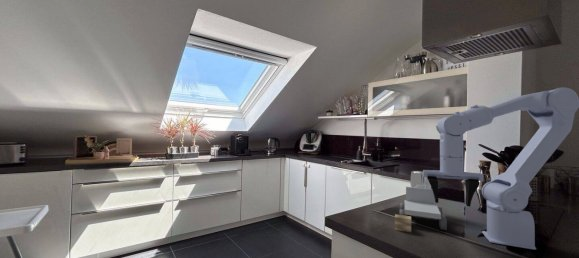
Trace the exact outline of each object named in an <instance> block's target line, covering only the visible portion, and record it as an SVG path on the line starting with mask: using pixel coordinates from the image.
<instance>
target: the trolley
mask: <svg viewBox="0 0 579 258" xmlns="http://www.w3.org/2000/svg"><path fill="white" fill-rule="evenodd" d="M403 201H404V202H399V215H404V216H408V215H409V216H414V217H422V218H429V219H435V220H436V221H438V224H439V230H442V231H447V229H448V222H447V221H448V220H447V215H446V214H444V213H443V208H442V207H440V206H438V205H437V203H435V198H434V194H433V190H432V188H431V189H426V188H415V187H411V186H405V199H404V200H403Z"/></svg>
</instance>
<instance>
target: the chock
mask: <svg viewBox="0 0 579 258" xmlns="http://www.w3.org/2000/svg"><path fill="white" fill-rule="evenodd" d="M395 230H396V231H399V232H405V231H406V233H412V215H409V216H408V215H405V216H404V215H400V214H394V231H395Z"/></svg>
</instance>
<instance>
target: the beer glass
mask: <svg viewBox="0 0 579 258" xmlns="http://www.w3.org/2000/svg"><path fill="white" fill-rule="evenodd" d="M410 172H411V173H410V187H415V188H426V189H432V188H431V185H430V183H429V181H428V179H427V177H423V170H422V171H421V170H412V171H410Z"/></svg>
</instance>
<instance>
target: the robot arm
mask: <svg viewBox="0 0 579 258" xmlns="http://www.w3.org/2000/svg"><path fill="white" fill-rule="evenodd" d="M578 109H579V96H578V94H577V92H576V91H575V90H573V89H572V88H570V87H565V86H564V87H557V88H555V89H551V90H550V89H549V90H544V91H540V92H533V93H529V94H523V95H519V96H516V97H513V98H511V99H508V100H506V101H503V102H500V103H498V104H495V105H491V106H489V107H488V106H485V105H478V104H476V105H475V104H474V105H472V106H470V108H469V109H467V110H463V111H455V112H454V113H453V115H450V116H444V117H441V118H440V119H439V121H438V122H437V125H436V126H435V127H436V131H437V133H439V170H436V169H433V170H431V169H423V170H422V171H423V177H427V179H428V181H429V183H430V185H431V189H432V190H433V194H434V204H439V191H438V190H439V180H438V179H449V180H450V179H452V180H464V184H465V205H466V207H471V205H472V202H473V201H472V200H473V198H474V195H475V193H476V191H477V190H478V188H479V187H480V184H481V183H480V182H484V181H485V180H484V179H485V178H484V174H483V173H478V172H470V171H464V170H465V169H464V168H465V165H464V163H465V162H464V134H466V132H469V131H472V130H475V129H478V128H481V127H483V126H484V127H485V126H487V125H490V124H491V123H492V122H493V121H494V119H495V118H497V117H498V118H499V117H500V116H501V117H502V116H505V115H507V114H510V113H514V112H515V113H516V112H518V111H521V112H527V113H528V114H529V115H530V116H531V118H532V119H533V120H534V121H535V122H536V123H537V124H538V127H539V128H538V129H537V131H536V132H535V133H534V134H533V136H532V137H531V138H530V140H529V141H528V142H527V144H526V145H525V146H524V147H523V148H522V150H521V151H520V153H518V154H517V156H516V157H515V159H514V160H513V161H512V163H511V164H510V165H509V166H508V167H507V169H506V170H505V172H502V173H500V174H498V175H495V177H494V178H493V179H492V180H490V181H489V182H486V183H484V185H483V186H482V188H481V194H482V197H483V198H484V200H486V231H485V230H482V231H481V233H482V234H483V235H484V237H485V238H486V240H488V241H489V243H492V244H498V245H504V246H508V247H509V246H511V247H516V248H523V249H528V250H533V251H534V250H537V247H536V245H535V244H536V243H535V242H536V240H535V239H536V238H535V236H536V235H535V234H536V233H535V232H536V230H535V220H534V216H533V214H532V213H531V212H530V211H528V210H527V211H526V210H524V209H525V208H526V207H527V205H528V203H529V197H530V196H531V194H533V189H532V187H531V186H530V183H531V182H532V180H533V179H534V177H535V176H536V175H537V174H538V172H539V171H540V170H541V169H542V167H544V165H545V164H546V162H547V161H548V160H549V159H550V158H551V157H552V155H553V154H554V153H555V152H556V150H557V149H558V147H559V146H560V145H561V143H563V141H564V140H565V139H566V137H567V136H568V135H569V134H570V133H571V131H572V129H573V124H574V119H575V115H576V112H577V111H578Z"/></svg>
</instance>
